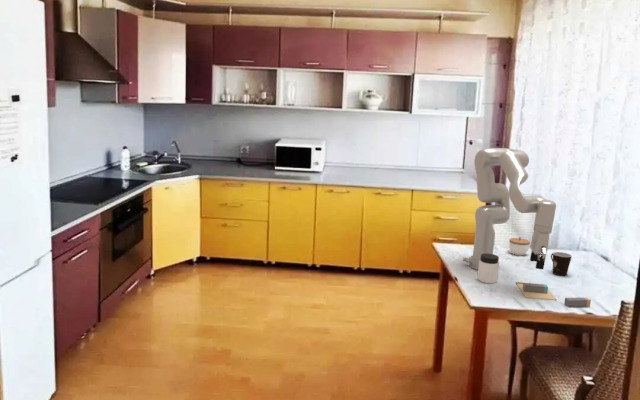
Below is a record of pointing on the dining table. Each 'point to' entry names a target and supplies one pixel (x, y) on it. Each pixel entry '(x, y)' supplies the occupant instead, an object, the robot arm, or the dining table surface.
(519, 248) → the lidded jar
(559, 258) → the coffee mug
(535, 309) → the dining table surface
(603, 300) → the dining table surface
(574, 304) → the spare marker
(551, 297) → the notepad
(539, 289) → the marker
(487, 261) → the jar
